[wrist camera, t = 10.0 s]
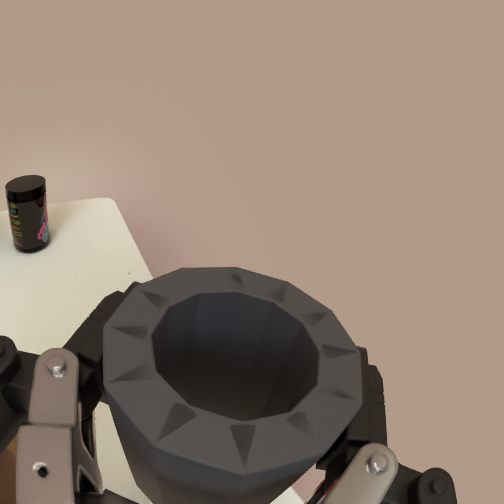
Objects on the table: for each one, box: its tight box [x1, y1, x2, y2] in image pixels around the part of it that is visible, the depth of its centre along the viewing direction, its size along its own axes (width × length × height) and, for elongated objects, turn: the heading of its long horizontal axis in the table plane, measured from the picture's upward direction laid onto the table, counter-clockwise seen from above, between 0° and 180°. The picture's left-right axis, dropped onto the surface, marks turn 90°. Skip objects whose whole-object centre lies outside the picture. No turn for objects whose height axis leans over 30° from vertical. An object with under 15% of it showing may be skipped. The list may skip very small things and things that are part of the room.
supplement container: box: [5, 175, 50, 253], centre depth 41 cm, size 7×7×10 cm
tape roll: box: [103, 267, 363, 504], centre depth 10 cm, size 6×6×8 cm
